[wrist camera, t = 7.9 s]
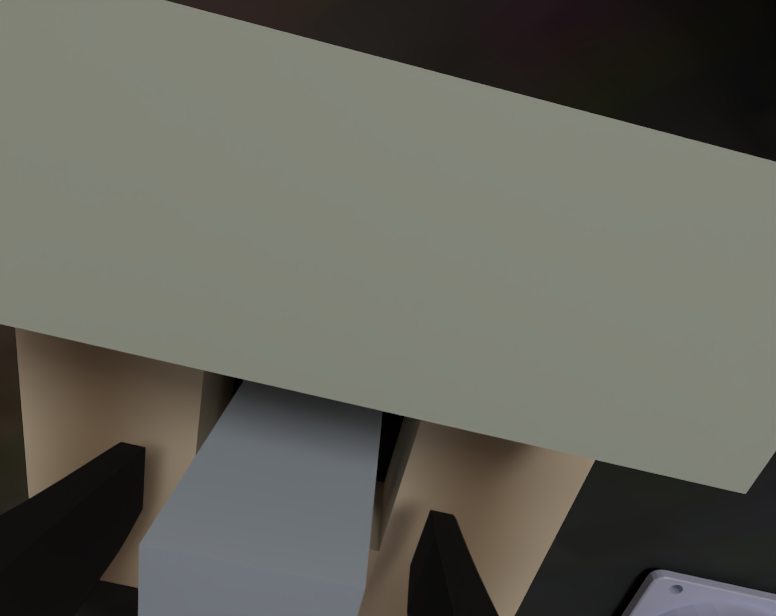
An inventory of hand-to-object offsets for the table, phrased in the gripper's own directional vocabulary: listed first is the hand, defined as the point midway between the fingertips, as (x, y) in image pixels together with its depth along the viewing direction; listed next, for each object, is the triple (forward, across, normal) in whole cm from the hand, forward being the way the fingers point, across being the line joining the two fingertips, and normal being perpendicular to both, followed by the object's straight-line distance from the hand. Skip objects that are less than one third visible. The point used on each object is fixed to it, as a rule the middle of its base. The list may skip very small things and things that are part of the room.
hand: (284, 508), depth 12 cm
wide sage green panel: (+5, 0, -8) cm, 9 cm away
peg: (+5, 0, 0) cm, 5 cm away
